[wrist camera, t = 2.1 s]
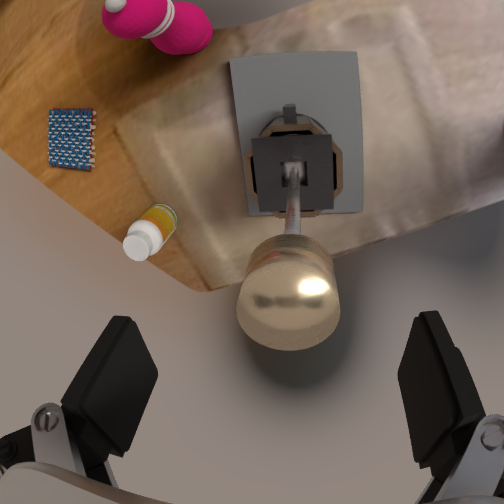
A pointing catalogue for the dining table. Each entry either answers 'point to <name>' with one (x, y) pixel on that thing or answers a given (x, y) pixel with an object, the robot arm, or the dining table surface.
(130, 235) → the supplement bottle
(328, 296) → the plunger
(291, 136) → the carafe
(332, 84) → the slate board
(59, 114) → the woven mat
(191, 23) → the pepper mill
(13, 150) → the dining table surface
